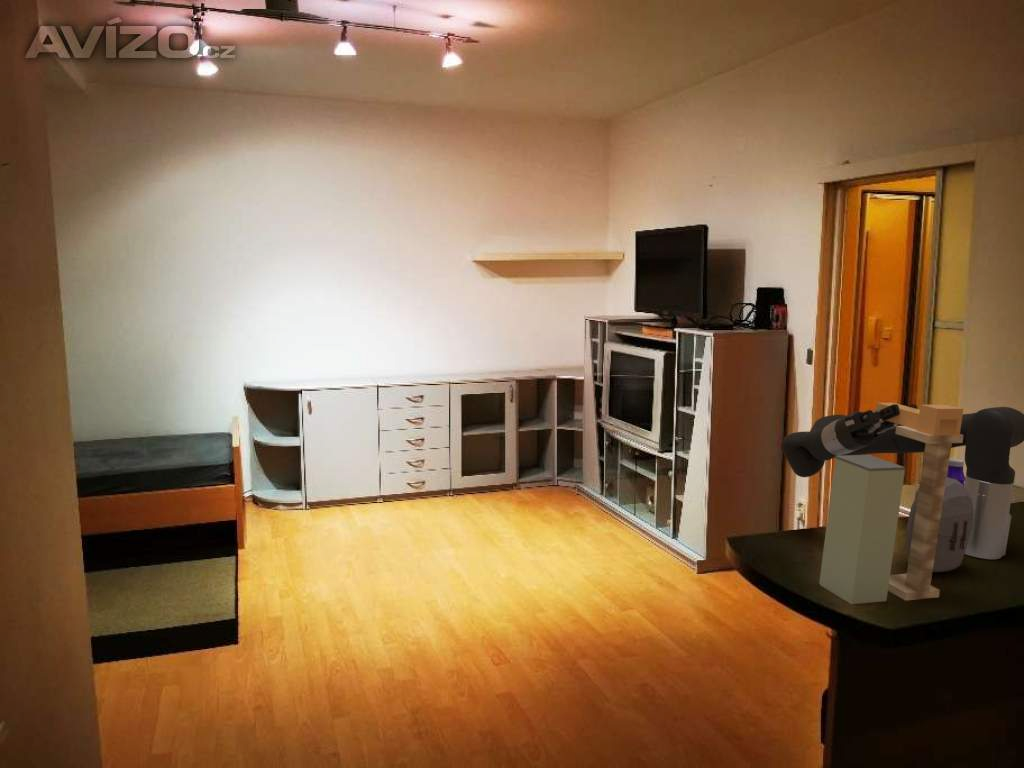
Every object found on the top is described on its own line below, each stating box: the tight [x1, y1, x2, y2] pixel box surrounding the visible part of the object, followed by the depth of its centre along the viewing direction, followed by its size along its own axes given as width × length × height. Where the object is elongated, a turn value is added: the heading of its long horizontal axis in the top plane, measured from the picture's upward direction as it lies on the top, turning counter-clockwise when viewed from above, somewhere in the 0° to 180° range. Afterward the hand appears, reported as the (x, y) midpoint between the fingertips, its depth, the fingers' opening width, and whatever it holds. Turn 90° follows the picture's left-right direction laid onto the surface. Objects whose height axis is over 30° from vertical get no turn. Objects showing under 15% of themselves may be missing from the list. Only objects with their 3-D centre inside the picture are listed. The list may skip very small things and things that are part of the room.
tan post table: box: [888, 426, 964, 602], centre depth 152 cm, size 8×8×32 cm
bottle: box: [947, 457, 966, 485], centre depth 193 cm, size 7×6×17 cm
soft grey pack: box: [905, 477, 973, 573], centre depth 164 cm, size 15×8×20 cm, turn 117°
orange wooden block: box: [875, 402, 964, 436], centre depth 152 cm, size 6×16×5 cm, turn 17°
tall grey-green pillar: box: [818, 454, 906, 605], centre depth 150 cm, size 8×9×26 cm
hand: (906, 409), depth 154 cm, fingers closed on orange wooden block, 4 cm apart
